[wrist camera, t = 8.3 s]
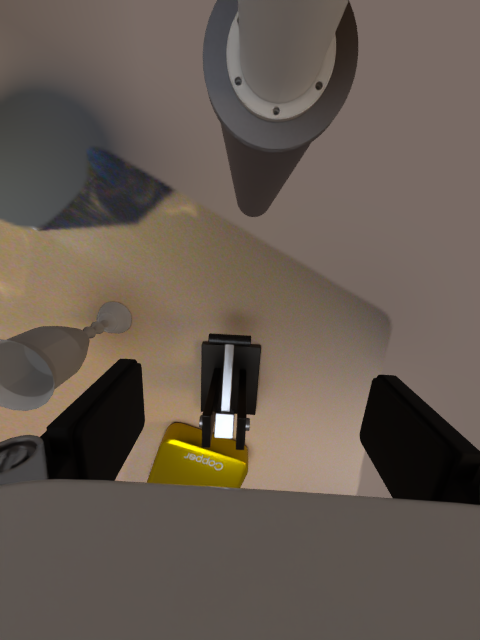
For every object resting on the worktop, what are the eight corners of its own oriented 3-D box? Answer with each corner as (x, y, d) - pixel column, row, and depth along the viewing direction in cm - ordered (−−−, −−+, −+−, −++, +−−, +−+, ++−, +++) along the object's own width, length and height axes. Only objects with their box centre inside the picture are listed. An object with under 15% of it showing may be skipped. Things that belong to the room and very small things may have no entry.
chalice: (140, 301, 38) (53, 348, 21) (137, 342, 40) (55, 417, 23) (91, 291, 38) (-38, 331, 21) (90, 333, 40) (-29, 402, 23)
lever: (210, 333, 33) (208, 333, 31) (250, 336, 33) (251, 335, 31) (203, 430, 32) (201, 437, 30) (245, 432, 32) (245, 439, 30)
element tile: (251, 444, 45) (252, 467, 41) (223, 503, 49) (220, 530, 45) (170, 418, 44) (162, 438, 39) (148, 480, 48) (138, 505, 44)
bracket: (203, 341, 40) (183, 384, 27) (260, 344, 40) (267, 390, 27) (201, 407, 43) (184, 472, 31) (254, 410, 43) (258, 476, 31)
